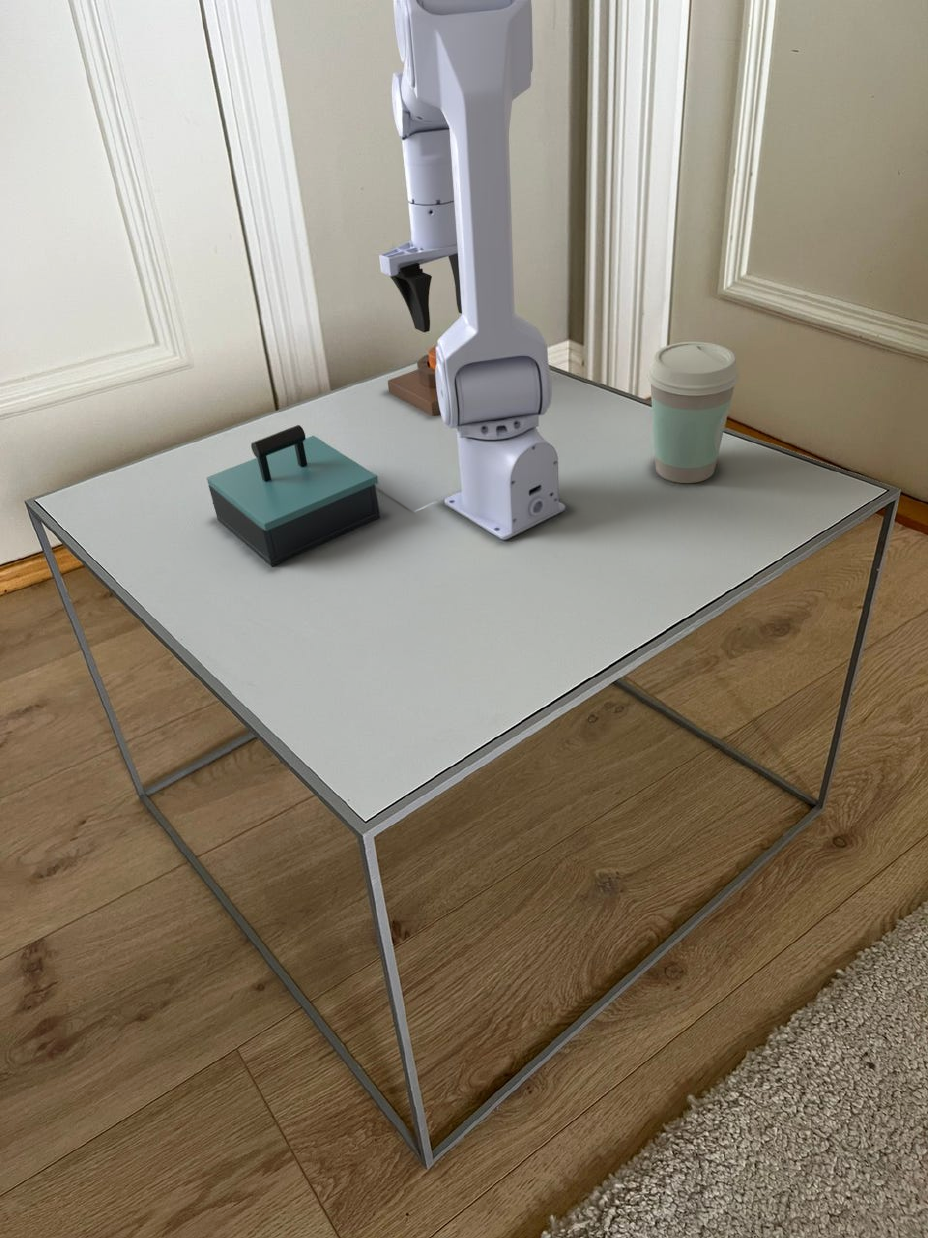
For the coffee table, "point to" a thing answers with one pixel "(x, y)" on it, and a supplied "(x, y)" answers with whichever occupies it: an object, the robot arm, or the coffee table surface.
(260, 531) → the open-top box
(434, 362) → the button
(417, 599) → the coffee table surface
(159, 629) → the coffee table surface
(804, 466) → the coffee table surface
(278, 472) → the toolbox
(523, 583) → the coffee table surface
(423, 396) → the block
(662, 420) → the coffee cup
